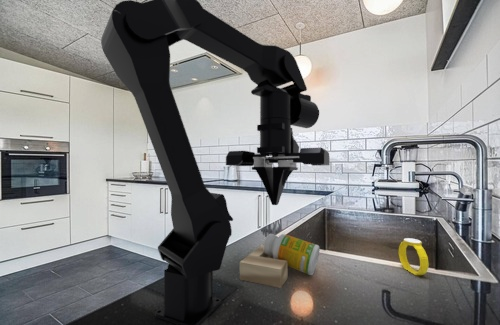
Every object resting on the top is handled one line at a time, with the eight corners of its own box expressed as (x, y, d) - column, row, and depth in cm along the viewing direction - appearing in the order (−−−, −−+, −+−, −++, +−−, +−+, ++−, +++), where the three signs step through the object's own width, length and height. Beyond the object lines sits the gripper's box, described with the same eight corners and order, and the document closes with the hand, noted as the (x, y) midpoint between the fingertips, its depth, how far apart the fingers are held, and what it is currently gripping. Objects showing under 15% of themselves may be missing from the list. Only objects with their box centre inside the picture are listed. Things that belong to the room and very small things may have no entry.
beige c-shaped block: (280, 288, 39) (280, 269, 39) (239, 279, 42) (239, 262, 42) (300, 258, 51) (300, 244, 51) (268, 253, 54) (268, 240, 55)
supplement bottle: (314, 254, 40) (263, 236, 45) (310, 282, 41) (260, 261, 46) (321, 240, 45) (274, 225, 50) (317, 266, 46) (271, 249, 51)
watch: (432, 280, 42) (433, 246, 41) (417, 280, 42) (418, 247, 41) (408, 264, 48) (408, 234, 47) (394, 264, 48) (395, 235, 47)
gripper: (333, 124, 48) (334, 203, 47) (250, 131, 56) (250, 198, 56) (323, 112, 38) (323, 211, 37) (224, 122, 46) (223, 203, 46)
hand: (275, 204), depth 44 cm, fingers closed
